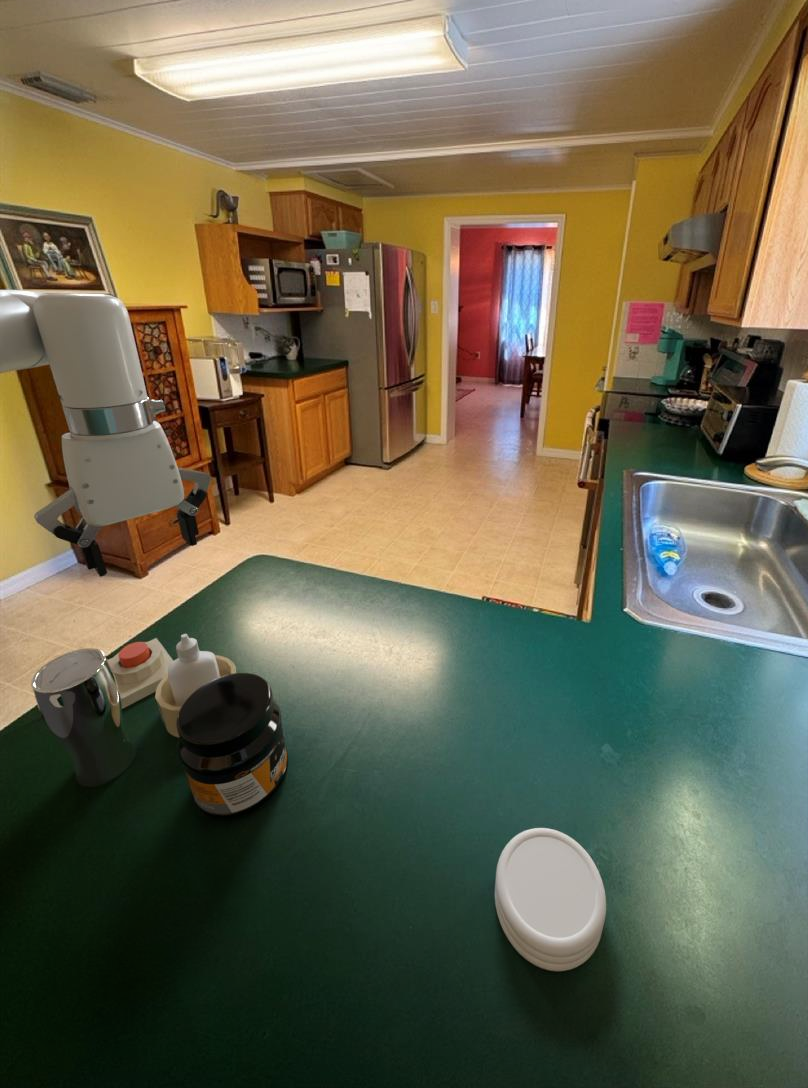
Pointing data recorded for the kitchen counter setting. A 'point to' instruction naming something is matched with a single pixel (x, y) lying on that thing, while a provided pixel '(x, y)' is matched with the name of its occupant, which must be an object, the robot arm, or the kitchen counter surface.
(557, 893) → the coaster
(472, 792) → the kitchen counter surface
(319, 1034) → the kitchen counter surface
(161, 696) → the holder
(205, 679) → the eye dropper bottle
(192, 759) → the supplement container
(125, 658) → the button
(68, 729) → the silver rounded piece
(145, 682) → the button base
